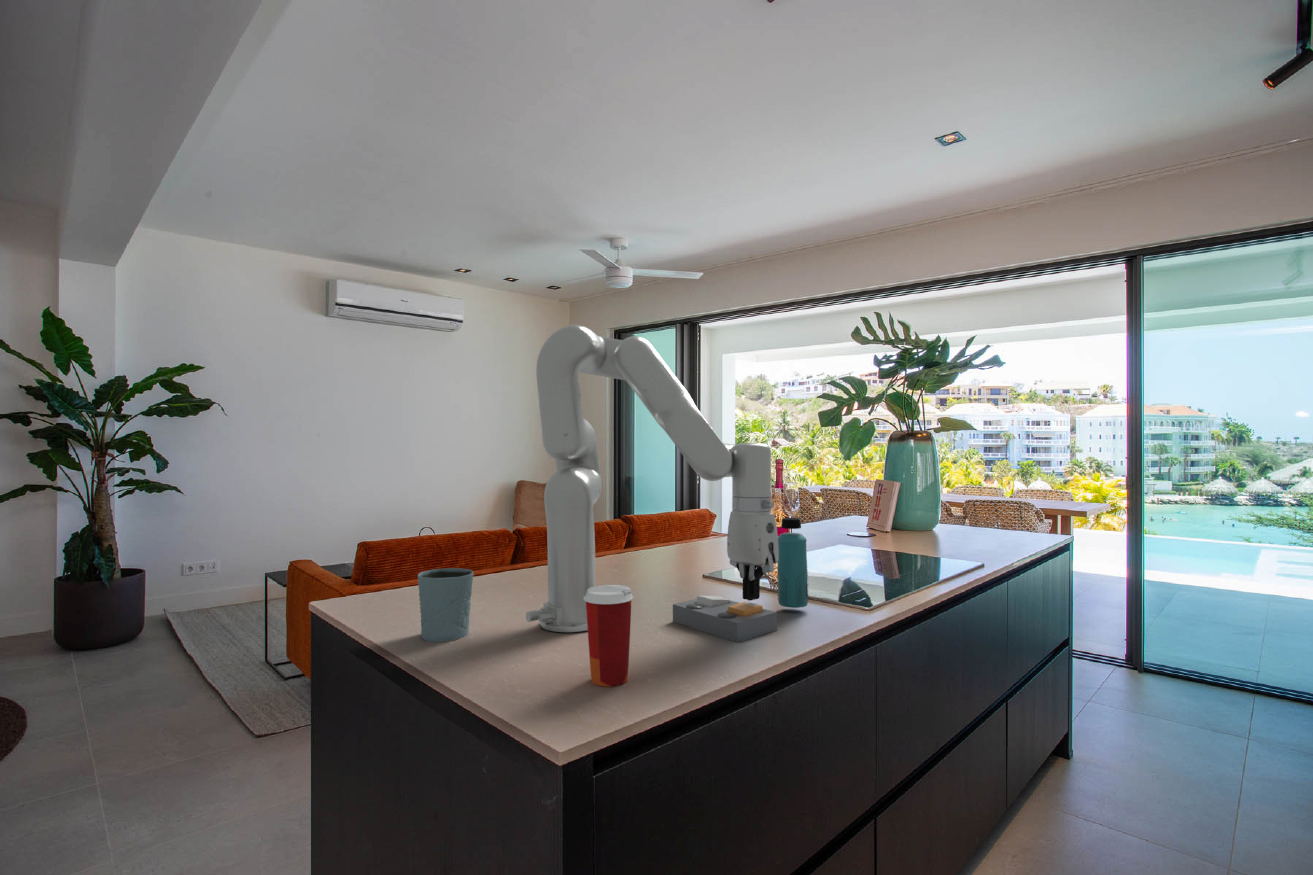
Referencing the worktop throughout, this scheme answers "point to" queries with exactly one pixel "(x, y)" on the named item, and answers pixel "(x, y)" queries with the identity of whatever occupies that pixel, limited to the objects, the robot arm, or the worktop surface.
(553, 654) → the worktop surface
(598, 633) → the paper cup
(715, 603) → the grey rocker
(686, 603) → the grey switch box
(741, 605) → the labelled cardboard parcel
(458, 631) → the grey-blue cup
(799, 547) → the beverage bottle
